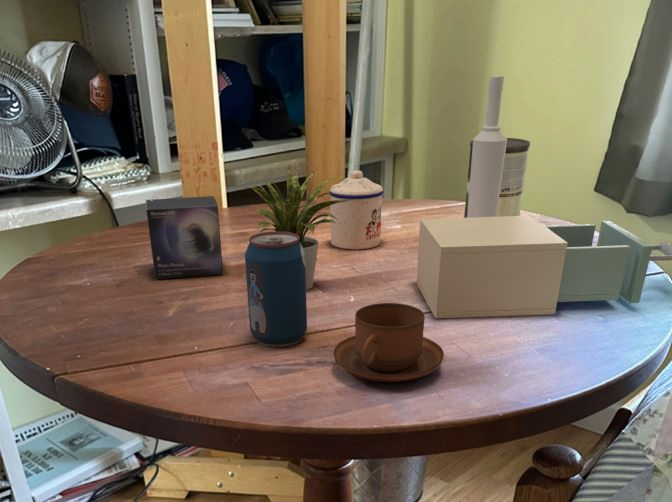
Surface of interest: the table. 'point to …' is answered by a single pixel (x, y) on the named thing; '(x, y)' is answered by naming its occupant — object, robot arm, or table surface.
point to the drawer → (605, 262)
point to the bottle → (488, 158)
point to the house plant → (296, 216)
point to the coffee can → (508, 178)
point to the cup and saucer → (388, 345)
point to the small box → (185, 237)
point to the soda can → (276, 288)
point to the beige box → (489, 266)
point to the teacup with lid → (356, 213)
